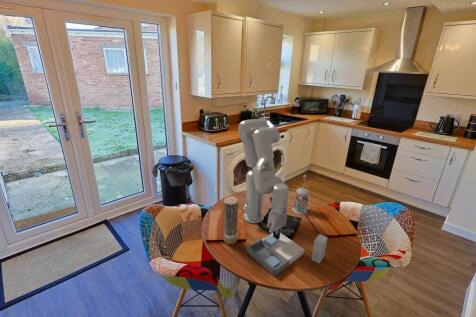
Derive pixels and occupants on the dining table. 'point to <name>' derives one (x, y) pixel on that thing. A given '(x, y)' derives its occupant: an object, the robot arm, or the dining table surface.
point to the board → (286, 249)
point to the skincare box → (319, 248)
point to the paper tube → (230, 219)
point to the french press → (298, 207)
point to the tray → (265, 257)
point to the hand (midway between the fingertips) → (276, 238)
